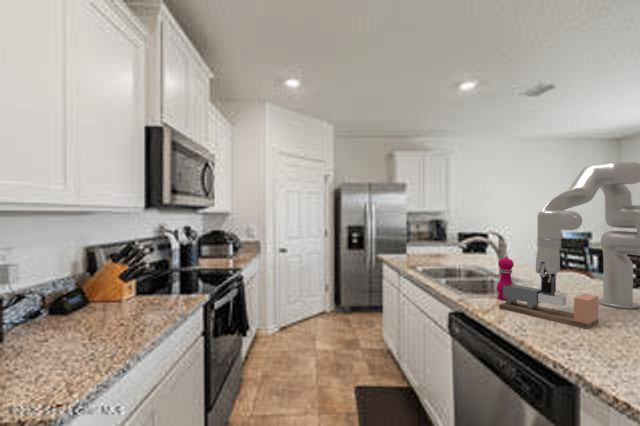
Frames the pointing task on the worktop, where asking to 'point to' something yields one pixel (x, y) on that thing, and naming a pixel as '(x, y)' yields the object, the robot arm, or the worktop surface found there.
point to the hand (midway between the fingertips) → (548, 291)
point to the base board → (547, 314)
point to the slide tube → (551, 296)
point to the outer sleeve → (521, 295)
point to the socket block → (585, 308)
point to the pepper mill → (504, 275)
